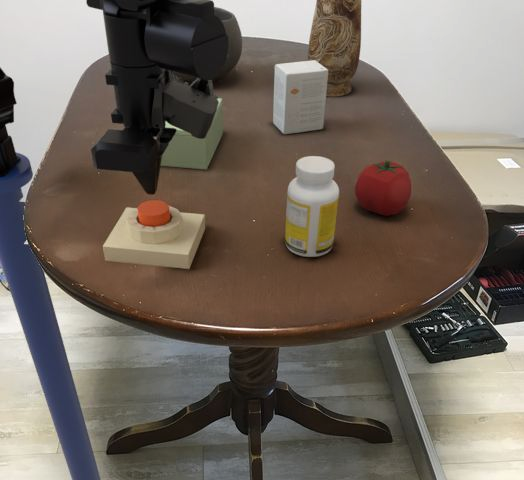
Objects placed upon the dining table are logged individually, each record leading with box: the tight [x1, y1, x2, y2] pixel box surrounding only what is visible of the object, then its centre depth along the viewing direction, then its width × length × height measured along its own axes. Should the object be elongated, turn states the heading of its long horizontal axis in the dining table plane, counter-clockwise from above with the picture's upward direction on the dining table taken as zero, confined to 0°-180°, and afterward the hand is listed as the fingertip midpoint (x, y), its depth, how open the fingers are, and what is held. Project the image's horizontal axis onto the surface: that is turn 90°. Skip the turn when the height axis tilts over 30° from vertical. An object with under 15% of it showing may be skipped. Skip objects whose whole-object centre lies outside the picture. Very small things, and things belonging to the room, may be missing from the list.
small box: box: [272, 60, 328, 135], centre depth 105 cm, size 8×6×10 cm
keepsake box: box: [160, 104, 224, 171], centre depth 99 cm, size 12×15×5 cm
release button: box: [137, 199, 170, 227], centre depth 76 cm, size 4×4×2 cm
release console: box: [102, 205, 206, 270], centre depth 77 cm, size 11×10×4 cm
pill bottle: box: [284, 155, 340, 258], centre depth 75 cm, size 6×6×12 cm
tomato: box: [354, 160, 412, 217], centre depth 85 cm, size 8×8×7 cm
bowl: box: [172, 6, 243, 83], centre depth 123 cm, size 18×18×13 cm
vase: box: [307, 0, 362, 97], centre depth 114 cm, size 10×11×30 cm
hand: (151, 193), depth 74 cm, fingers closed
